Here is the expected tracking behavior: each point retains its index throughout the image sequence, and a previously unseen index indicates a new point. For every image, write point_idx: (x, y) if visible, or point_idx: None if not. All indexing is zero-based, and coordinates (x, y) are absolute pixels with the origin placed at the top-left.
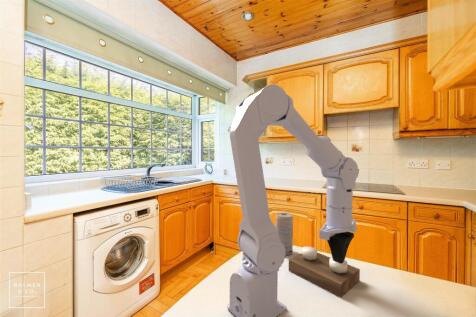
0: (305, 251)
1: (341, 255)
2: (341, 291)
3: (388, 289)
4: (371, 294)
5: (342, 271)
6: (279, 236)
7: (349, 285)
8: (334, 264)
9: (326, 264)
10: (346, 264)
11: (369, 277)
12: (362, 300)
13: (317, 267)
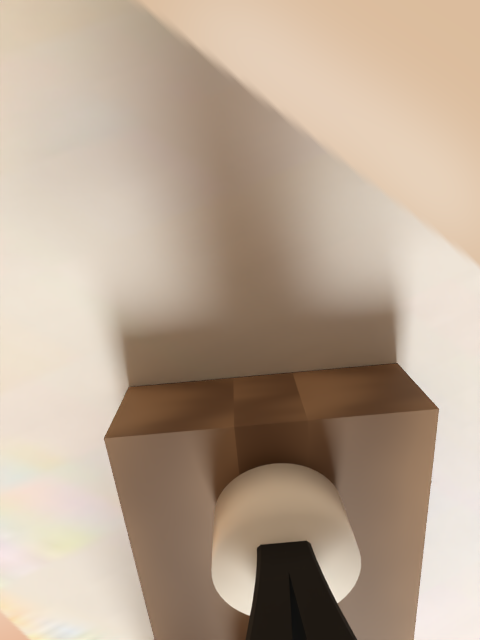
0: None
1: (347, 626)
2: (398, 381)
3: (40, 239)
4: (205, 279)
5: (319, 480)
6: None
7: (285, 388)
8: (359, 557)
9: None
10: (282, 514)
11: (22, 373)
12: (316, 282)
13: None
